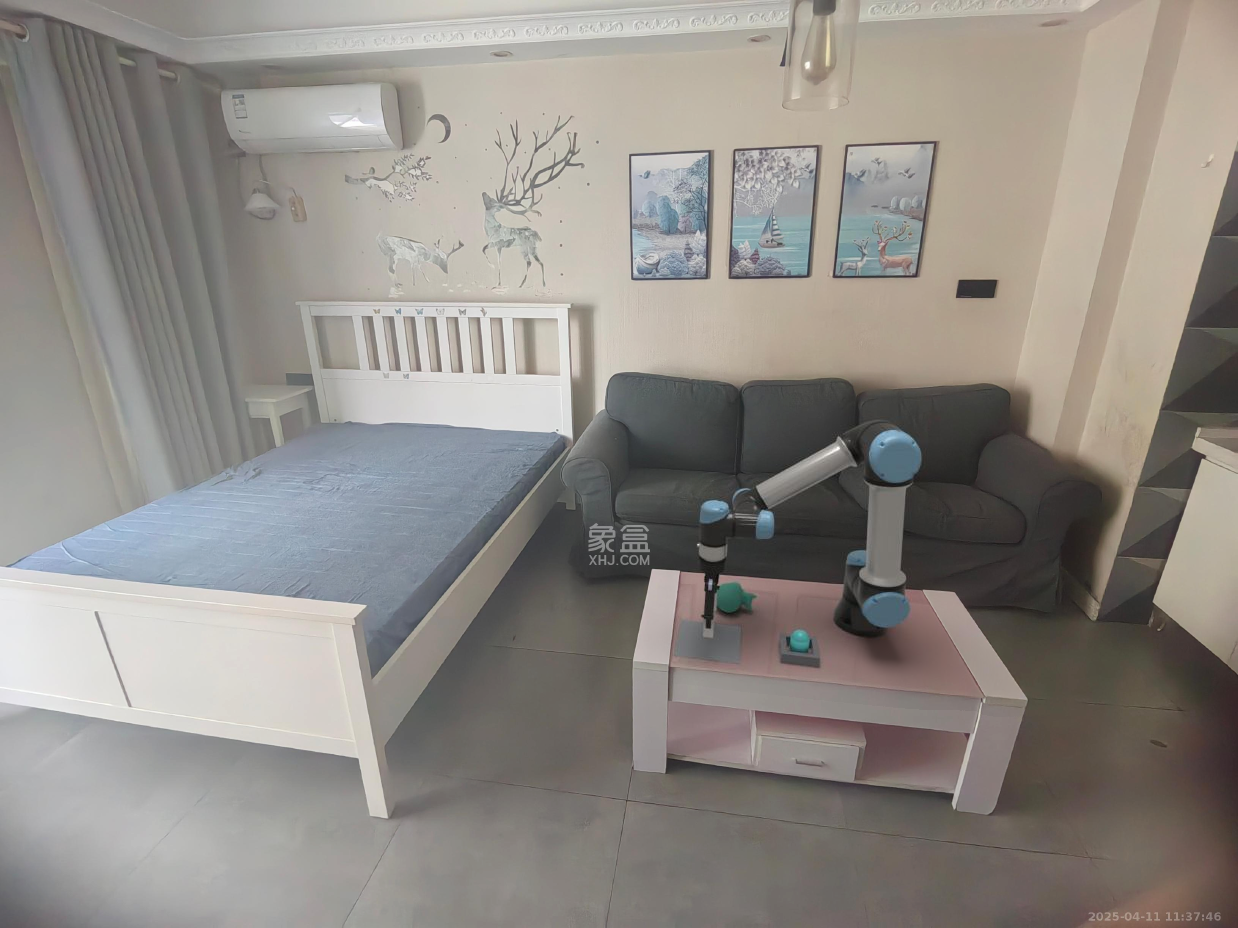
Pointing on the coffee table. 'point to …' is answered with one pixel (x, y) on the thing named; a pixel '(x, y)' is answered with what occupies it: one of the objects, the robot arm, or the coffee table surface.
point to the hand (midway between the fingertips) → (710, 622)
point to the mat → (709, 642)
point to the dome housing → (797, 657)
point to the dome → (799, 642)
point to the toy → (733, 597)
